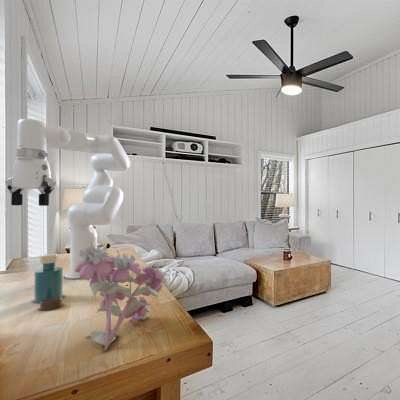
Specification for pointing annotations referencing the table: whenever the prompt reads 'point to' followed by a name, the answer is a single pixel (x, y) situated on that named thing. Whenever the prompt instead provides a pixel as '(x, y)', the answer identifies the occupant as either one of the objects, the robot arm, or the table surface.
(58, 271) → the bottle
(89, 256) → the flower
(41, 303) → the brown round puck
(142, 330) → the table surface
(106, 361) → the table surface
